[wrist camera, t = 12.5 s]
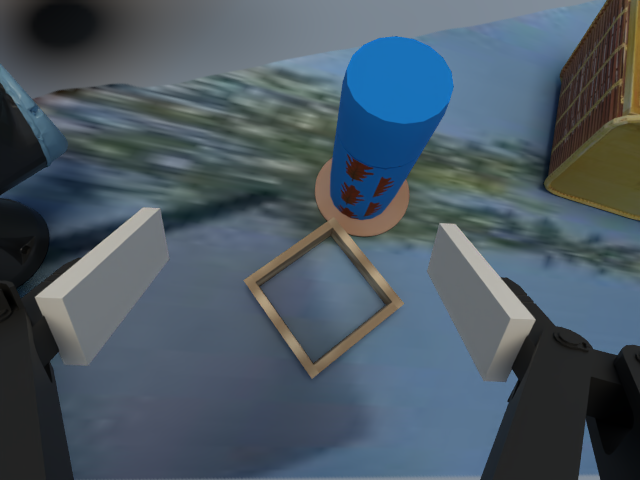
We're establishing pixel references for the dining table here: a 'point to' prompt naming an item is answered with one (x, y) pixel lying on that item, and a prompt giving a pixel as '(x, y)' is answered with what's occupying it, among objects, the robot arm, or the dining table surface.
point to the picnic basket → (601, 115)
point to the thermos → (385, 121)
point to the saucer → (354, 225)
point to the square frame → (360, 263)
